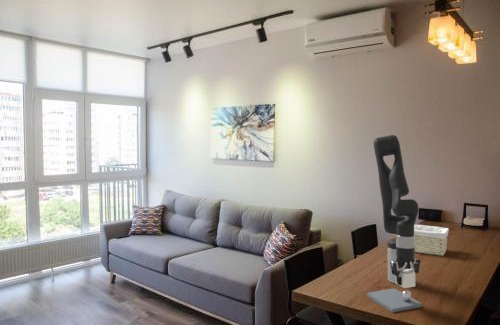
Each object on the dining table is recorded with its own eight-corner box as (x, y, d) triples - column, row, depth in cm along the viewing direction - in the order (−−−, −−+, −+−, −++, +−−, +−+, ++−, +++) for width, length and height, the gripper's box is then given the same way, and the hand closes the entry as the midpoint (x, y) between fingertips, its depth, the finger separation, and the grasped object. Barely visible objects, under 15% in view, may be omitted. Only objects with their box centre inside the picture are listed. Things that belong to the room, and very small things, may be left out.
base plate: (394, 291, 182) (394, 288, 182) (421, 306, 165) (421, 303, 165) (366, 296, 178) (366, 293, 177) (392, 312, 160) (392, 309, 160)
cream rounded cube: (406, 282, 171) (406, 268, 170) (415, 286, 165) (415, 272, 165) (395, 283, 169) (395, 270, 169) (404, 288, 164) (404, 274, 163)
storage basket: (449, 250, 242) (449, 227, 242) (445, 257, 229) (445, 233, 228) (409, 245, 256) (409, 223, 255) (403, 251, 243) (403, 228, 242)
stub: (407, 298, 170) (407, 289, 170) (412, 301, 167) (412, 292, 166) (401, 299, 169) (401, 291, 169) (406, 302, 166) (406, 293, 166)
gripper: (413, 241, 172) (413, 278, 173) (385, 244, 168) (385, 282, 169) (425, 246, 165) (425, 284, 166) (396, 249, 161) (396, 289, 162)
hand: (405, 283), depth 167 cm, fingers closed on cream rounded cube, 5 cm apart
